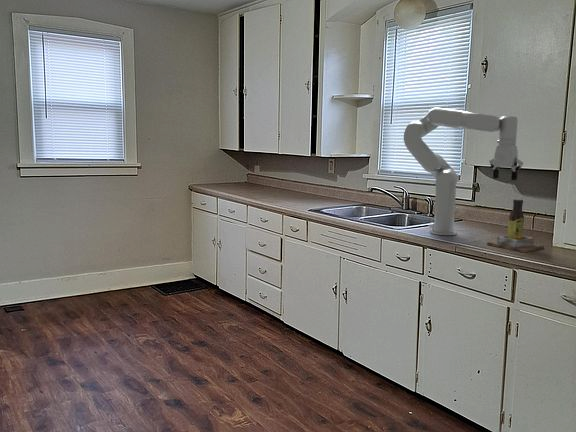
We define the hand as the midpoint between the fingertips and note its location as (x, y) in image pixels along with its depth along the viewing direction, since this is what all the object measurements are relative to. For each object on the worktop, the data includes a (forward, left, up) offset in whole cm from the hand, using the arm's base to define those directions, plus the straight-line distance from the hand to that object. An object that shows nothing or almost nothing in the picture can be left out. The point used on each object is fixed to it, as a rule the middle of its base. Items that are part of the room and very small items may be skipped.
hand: (504, 179), depth 256 cm
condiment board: (+16, -12, -28) cm, 35 cm away
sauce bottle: (+16, -12, -27) cm, 34 cm away
